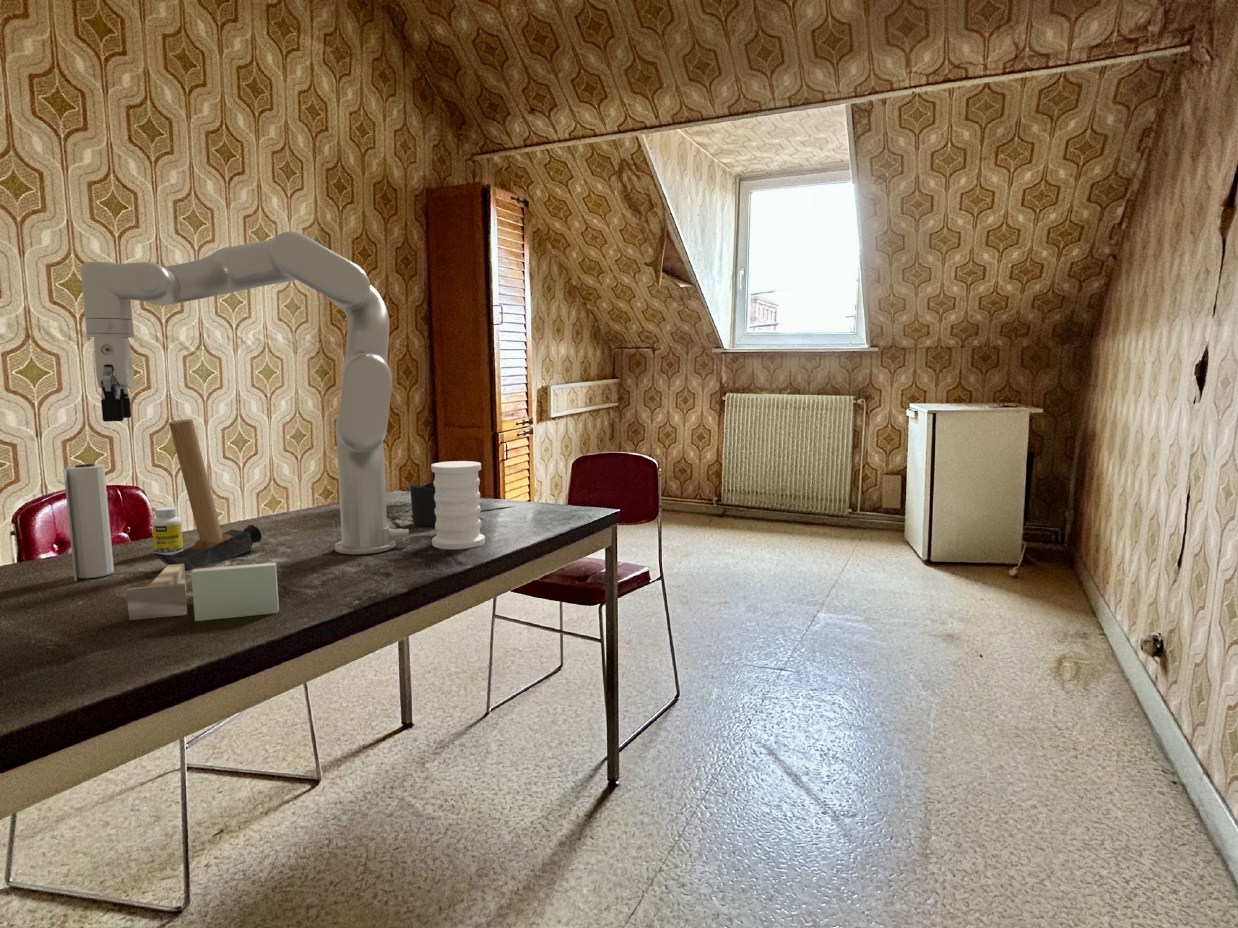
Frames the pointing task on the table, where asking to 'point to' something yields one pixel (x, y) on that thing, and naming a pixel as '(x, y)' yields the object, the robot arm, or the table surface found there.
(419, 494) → the pen holder
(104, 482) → the paper towel roll
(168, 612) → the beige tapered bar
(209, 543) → the hammer
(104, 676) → the table surface
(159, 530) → the supplement bottle
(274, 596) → the tile
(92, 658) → the table surface
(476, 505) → the decorative container
